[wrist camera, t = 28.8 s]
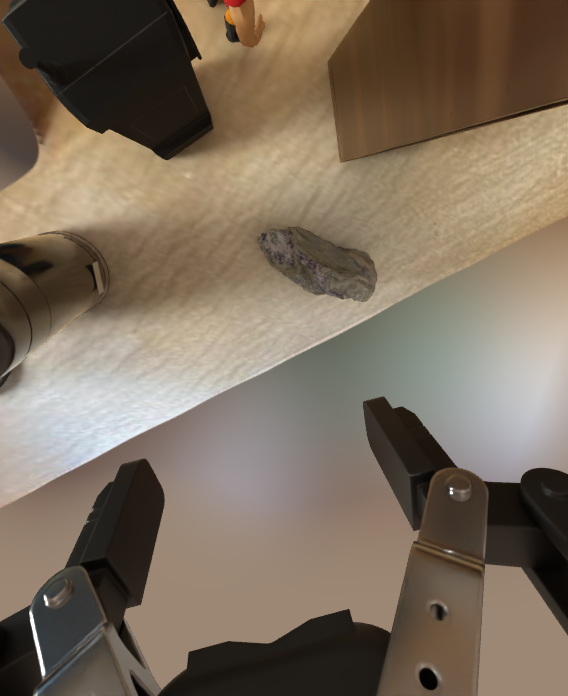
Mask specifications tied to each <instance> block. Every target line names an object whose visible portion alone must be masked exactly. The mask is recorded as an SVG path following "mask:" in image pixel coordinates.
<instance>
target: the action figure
mask: <svg viewBox="0 0 568 696" xmlns="http://www.w3.org/2000/svg"><path fill="white" fill-rule="evenodd" d="M207 1H208V3H209V5H210V7H214V6H215V5H216V3H217V0H207ZM224 2H225V4H226V7H228V10H227V12H226V14H225V17H224V18H225V24H226V28H227V33H226V36H227V38H228V40H229V41H231V42H241V43H242V44H243V46H248V47H254V46H256V45H258V43H259V42H260V39H261V36H262V31H263V29H264V28H265V22H264V21H263V22H262V15H261V14H260V15H259V16H258V21H257V23H256V25H255V10H254V2H253V0H224Z"/></svg>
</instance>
